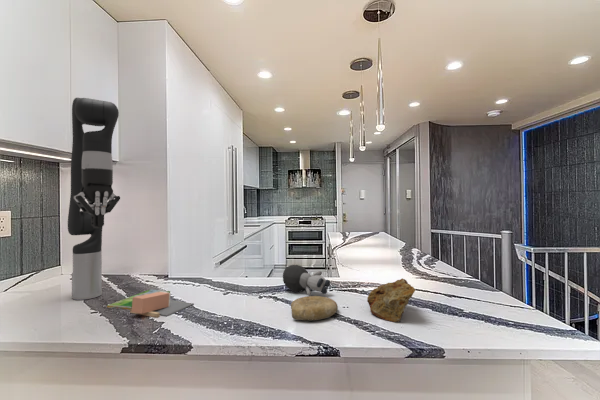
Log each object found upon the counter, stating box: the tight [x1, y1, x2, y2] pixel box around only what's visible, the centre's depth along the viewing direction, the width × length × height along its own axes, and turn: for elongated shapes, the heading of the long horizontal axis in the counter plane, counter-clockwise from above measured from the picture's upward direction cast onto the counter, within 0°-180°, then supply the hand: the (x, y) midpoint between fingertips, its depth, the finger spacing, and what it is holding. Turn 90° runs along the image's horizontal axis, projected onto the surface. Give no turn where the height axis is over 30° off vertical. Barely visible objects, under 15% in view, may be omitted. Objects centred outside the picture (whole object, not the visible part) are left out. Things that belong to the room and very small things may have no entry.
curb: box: [129, 309, 161, 319], centre depth 97 cm, size 12×1×1 cm, turn 67°
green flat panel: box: [106, 289, 171, 311], centre depth 113 cm, size 20×1×10 cm
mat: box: [152, 299, 195, 318], centre depth 104 cm, size 16×12×1 cm
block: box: [132, 292, 171, 315], centre depth 100 cm, size 4×4×11 cm
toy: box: [282, 264, 331, 296], centre depth 120 cm, size 11×12×20 cm
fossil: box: [290, 295, 339, 321], centre depth 97 cm, size 17×15×5 cm
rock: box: [366, 278, 416, 323], centre depth 97 cm, size 20×15×10 cm
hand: (97, 227), depth 88 cm, fingers closed
